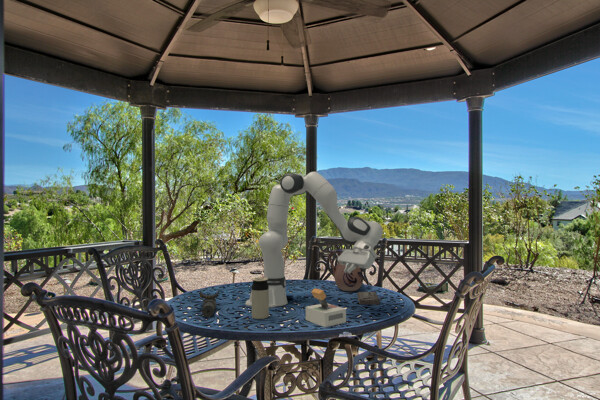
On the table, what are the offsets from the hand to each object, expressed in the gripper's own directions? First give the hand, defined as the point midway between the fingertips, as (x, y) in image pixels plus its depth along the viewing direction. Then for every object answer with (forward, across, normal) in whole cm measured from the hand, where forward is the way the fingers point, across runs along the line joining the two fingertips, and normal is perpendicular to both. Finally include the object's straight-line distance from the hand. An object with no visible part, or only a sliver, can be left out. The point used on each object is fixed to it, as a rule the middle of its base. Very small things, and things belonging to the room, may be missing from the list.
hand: (346, 272), depth 186 cm
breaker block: (+24, 0, +6) cm, 24 cm away
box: (-7, -17, +37) cm, 41 cm away
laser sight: (+50, -47, -19) cm, 71 cm away
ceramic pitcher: (-13, -45, +43) cm, 64 cm away
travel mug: (+38, -24, -8) cm, 46 cm away
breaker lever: (+19, 0, +1) cm, 19 cm away
